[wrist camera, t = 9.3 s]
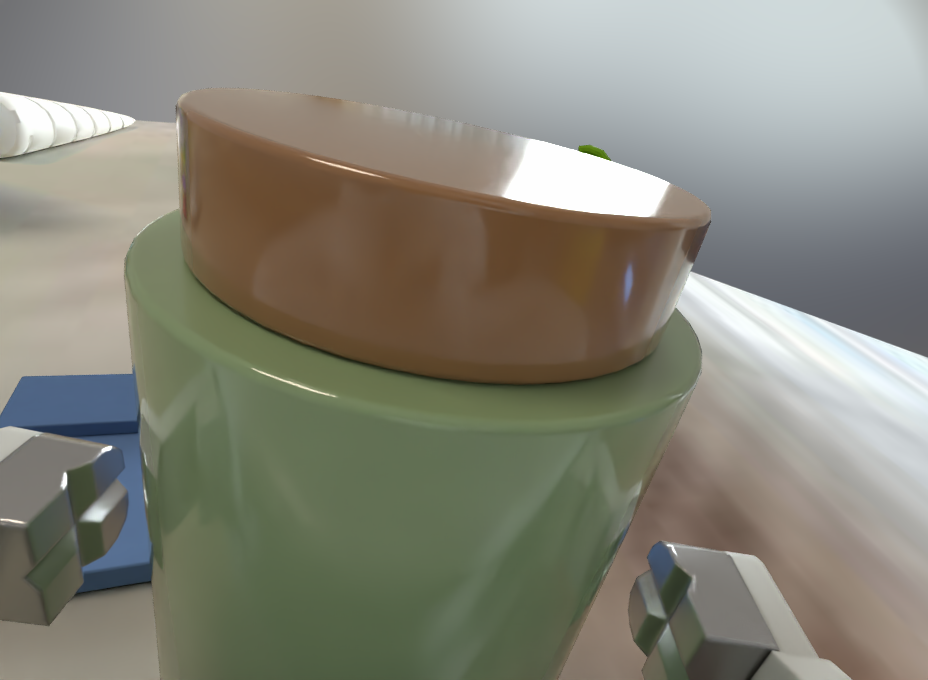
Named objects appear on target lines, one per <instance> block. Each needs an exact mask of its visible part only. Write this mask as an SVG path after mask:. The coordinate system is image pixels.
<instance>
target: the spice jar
mask: <svg viewBox="0 0 928 680" xmlns="http://www.w3.org/2000/svg"><path fill="white" fill-rule="evenodd" d="M176 130H177V156H178V183H179V209H176V210H174V211H172V212H170V213H167V214H165V215H163V216H161V217H159V218H158V219H156V220H154V221H153V222H151V223H150V224H148V225H147V226H145V227H144V228H143V229H142V231H141V232H140V233H139V234H138V235H137V236H136V237H135V238H134V240H133V242H132V244H131V246H130V248H129V251H128V253H127V255H126V257H125V261H124V281H125V292H126V304H127V315H128V326H129V337H130V348H131V359H132V370H133V382H134V393H135V404H136V415H137V426H138V437H139V449H140V460H141V471H142V482H143V493H144V504H145V515H146V527H147V538H148V549H149V560H150V571H151V582H152V594H153V605H154V616H155V627H156V638H157V649H158V660H159V672H160V680H558V678H559V676H560V674H561V672H562V670H563V667H564V665H565V663H566V661H567V659H568V657H569V655H570V653H571V650H572V648H573V646H574V644H575V642H576V640H577V638H578V636H579V633H580V631H581V629H582V627H583V625H584V623H585V621H586V619H587V616H588V614H589V612H590V610H591V608H592V606H593V604H594V602H595V599H596V597H597V595H598V593H599V591H600V589H601V587H602V584H603V582H604V580H605V578H606V576H607V574H608V572H609V570H610V567H611V565H612V563H613V561H614V559H615V557H616V555H617V553H618V550H619V548H620V546H621V544H622V542H623V540H624V538H625V536H626V533H627V531H628V529H629V527H630V525H631V523H632V521H633V519H634V516H635V514H636V512H637V510H638V508H639V506H640V504H641V502H642V499H643V497H644V495H645V493H646V491H647V489H648V487H649V485H650V482H651V480H652V478H653V476H654V474H655V472H656V470H657V468H658V465H659V463H660V461H661V459H662V457H663V455H664V453H665V451H666V448H667V446H668V444H669V442H670V440H671V438H672V436H673V433H674V431H675V429H676V427H677V425H678V423H679V421H680V419H681V416H682V414H683V412H684V410H685V408H686V406H687V404H688V402H689V399H690V397H691V395H692V393H693V391H694V389H695V387H696V384H697V382H698V380H699V377H700V375H701V373H702V350H701V347H700V343H699V340H698V337H697V335H696V333H695V332H694V330H693V328H692V327H691V325H690V323H689V322H688V321H687V320H686V319H685V317H684V316H683V315H682V314H681V313H680V312H679V310H678V309H677V308H675V307H676V305H677V302H678V300H679V297H680V295H681V293H682V290H683V288H684V285H685V283H686V281H687V278H688V276H689V273H690V271H691V268H692V266H693V264H694V261H695V259H696V257H697V254H698V252H699V250H700V247H701V245H702V242H703V240H704V237H705V235H706V233H707V230H708V228H709V225H710V223H711V210H710V209H709V207H708V206H707V205H706V204H705V203H704V202H702V201H701V200H700V199H698V198H697V197H695V196H694V195H692V194H691V193H689V192H687V191H685V190H683V189H681V188H679V187H677V186H675V185H672V184H670V183H668V182H666V181H663V180H661V179H658V178H656V177H653V176H650V175H648V174H645V173H642V172H640V171H637V170H634V169H631V168H628V167H625V166H622V165H619V164H616V163H613V162H610V161H607V160H603V159H600V158H597V157H594V156H590V155H587V154H584V153H580V152H576V151H573V150H570V149H566V148H562V147H559V146H555V145H552V144H548V143H544V142H541V141H536V140H532V139H529V138H525V137H521V136H517V135H513V134H509V133H505V132H501V131H497V130H492V129H488V128H484V127H479V126H475V125H470V124H466V123H462V122H457V121H453V120H448V119H443V118H438V117H434V116H429V115H424V114H419V113H414V112H408V111H404V110H398V109H392V108H388V107H382V106H376V105H371V104H365V103H359V102H353V101H347V100H341V99H333V98H327V97H321V96H313V95H306V94H298V93H289V92H281V91H270V90H259V89H244V88H243V89H242V88H208V89H201V90H195V91H190V92H187V93H185V94H182V95H181V97H180V98H179V100H178V102H177V104H176Z"/></svg>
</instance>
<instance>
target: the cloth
mask: <svg viewBox="0 0 928 680" xmlns="http://www.w3.org/2000/svg"><path fill="white" fill-rule="evenodd" d="M8 426H13V427H18V428H23V429H28V430H32V431H37V432H42V433H46V432H47V433H52V434H57V435H62V436H67V437H72V438H77V439H82V440H87V441H92V442H97V443H102V444H107V445H112V446H115V447H117V448H119V449H121V450H122V451H123V457H124V463H125V469H124V470H123V471H122V472H121V473H120V474H119V475H118V477H117V479H118V480H119V481H120V483H121V484H122V485H123V486H124V487H125V488H126V489H127V490H128V497H129V507H128V513H127V519H126V521H125V524H124V526H123V528H122V530H121V532H120V535H119V537H118V539H117V540H116V542H115V543H114V544H113V546H112V547H111V548H110V550H109V551H108V552H107V554H106V555H105V556H103V557H101V558H100V559H98V560H96V561H94V562H92V563H90V564H88V565H86V566H84V567H83V577H84V583H83V584H82V585H81V587H80V588H79V589H78V590H77V592H76V593H80V592H86V591H92V590H99V589H105V588H111V587H117V586H123V585H129V584H135V583H141V582H147V581H151V571H150V560H149V549H148V538H147V527H146V515H145V504H144V493H143V482H142V471H141V460H140V449H139V437H138V426H137V415H136V404H135V393H134V382H133V374H109V375H66V376H24V377H22V378H21V380H20V381H19V383H18V385H17V387H16V388H15V390H14V392H13V394H12V396H11V397H10V399H9V401H8V403H7V404H6V406H5V408H4V410H3V412H2V413H1V415H0V428H4V427H8Z"/></svg>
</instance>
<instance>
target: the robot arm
mask: <svg viewBox="0 0 928 680" xmlns="http://www.w3.org/2000/svg"><path fill="white" fill-rule="evenodd" d="M124 469H125V463H124V457H123V451H122V450H121V449H119V448H117V447H115V446H112V445H107V444H102V443H97V442H92V441H87V440H82V439H77V438H72V437H67V436H62V435H57V434H52V433H47V432H46V433H42V432H37V431H32V430H28V429H23V428H18V427H13V426H8V427H4V428H0V620H2V621H10V622H18V623H27V624H35V625H43V626H50V624H51V623H52V622H53V621H54V619H55V618H56V617H57V615H58V614H59V613H60V612H61V610H62V609H63V608H64V607H65V605H66V604H67V603H68V602H69V600H70V599H71V598H72V597H73V595H74V594H75V593H76V592H77V590H78V589H79V588H80V587H81V585H82V584H83V583H84V577H83V567H84V566H86V565H88V564H90V563H92V562H94V561H96V560H98V559H100V558H101V557H103V556H105V555H106V554H107V552H108V551H109V550H110V548H111V547H112V546H113V544H114V543H115V542H116V540H117V539H118V537H119V535H120V532H121V530H122V528H123V526H124V524H125V521H126V519H127V513H128V507H129V497H128V490H127V489H126V488H125V487H124V486H123V485H122V484H121V483H120V481H119V480H118V479H117V477H118V475H119V474H120V473H121V472H122V471H123V470H124ZM647 559H648V562H649V565H650V568H651V569H650V570H648V571H647V572H645V573H643V574H641V575H640V576H638V577H637V578H636V580H635V582H634V585H633V587H632V589H631V591H630V598H629V606H628V615H629V625H630V629H631V633H632V637H633V641H634V642H635V643H636V644H637V646H638V647H639V648H640V649H641V650H642V651H643V653H644V654H645V655H646V656H647V659H646V662H645V664H644V666H643V668H642V674H643V678H644V680H852V679H851V678H849V677H848V676H847V675H846V674H845V673H844V672H843V671H841V670H840V669H839V668H838V667H837V666H836V665H835V664H833V663H832V662H831V661H830V660H826V659H821V658H819V657H818V655H817V654H816V652H815V650H814V649H813V647H812V645H811V644H810V642H809V640H808V638H807V637H806V635H805V633H804V632H803V630H802V628H801V626H800V625H799V623H798V621H797V620H796V618H795V616H794V615H793V613H792V611H791V609H790V608H789V606H788V604H787V603H786V601H785V599H784V597H783V596H782V594H781V592H780V591H779V589H778V587H777V586H776V584H775V582H774V580H773V579H772V577H771V575H770V574H769V572H768V570H767V568H766V567H765V565H764V564H763V563H762V562H761V561H760V560H759V559H758V558H757V557H756V556H752V555H746V554H740V553H733V552H727V551H719V550H714V549H708V548H701V547H695V546H689V545H683V544H677V543H671V542H665V541H659V542H658V543H656V544H655V545H654V546H653V547H652V549H651V551H650V552H649V554H648V556H647Z"/></svg>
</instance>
